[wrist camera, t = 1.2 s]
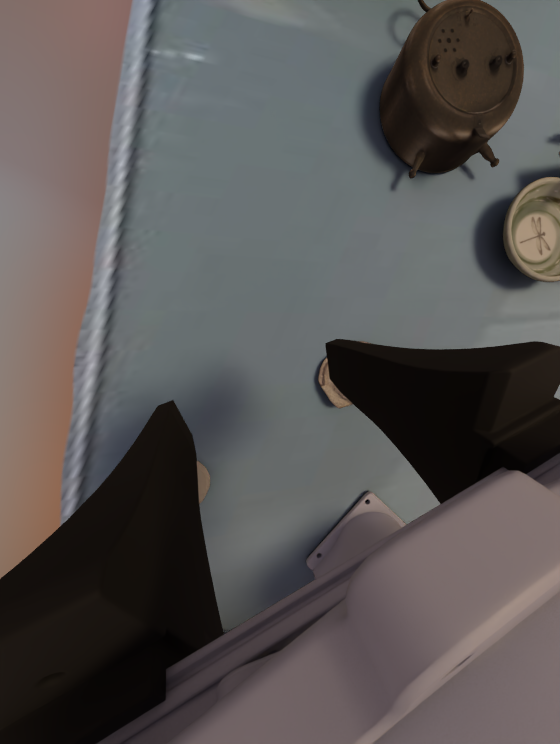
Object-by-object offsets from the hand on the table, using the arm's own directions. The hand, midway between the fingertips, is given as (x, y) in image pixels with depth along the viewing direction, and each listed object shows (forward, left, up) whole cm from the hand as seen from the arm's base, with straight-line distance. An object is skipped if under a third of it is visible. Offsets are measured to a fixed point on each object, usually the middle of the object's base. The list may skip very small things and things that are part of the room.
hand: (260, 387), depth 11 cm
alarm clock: (+26, 0, -9) cm, 28 cm away
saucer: (+29, -11, -12) cm, 34 cm away
